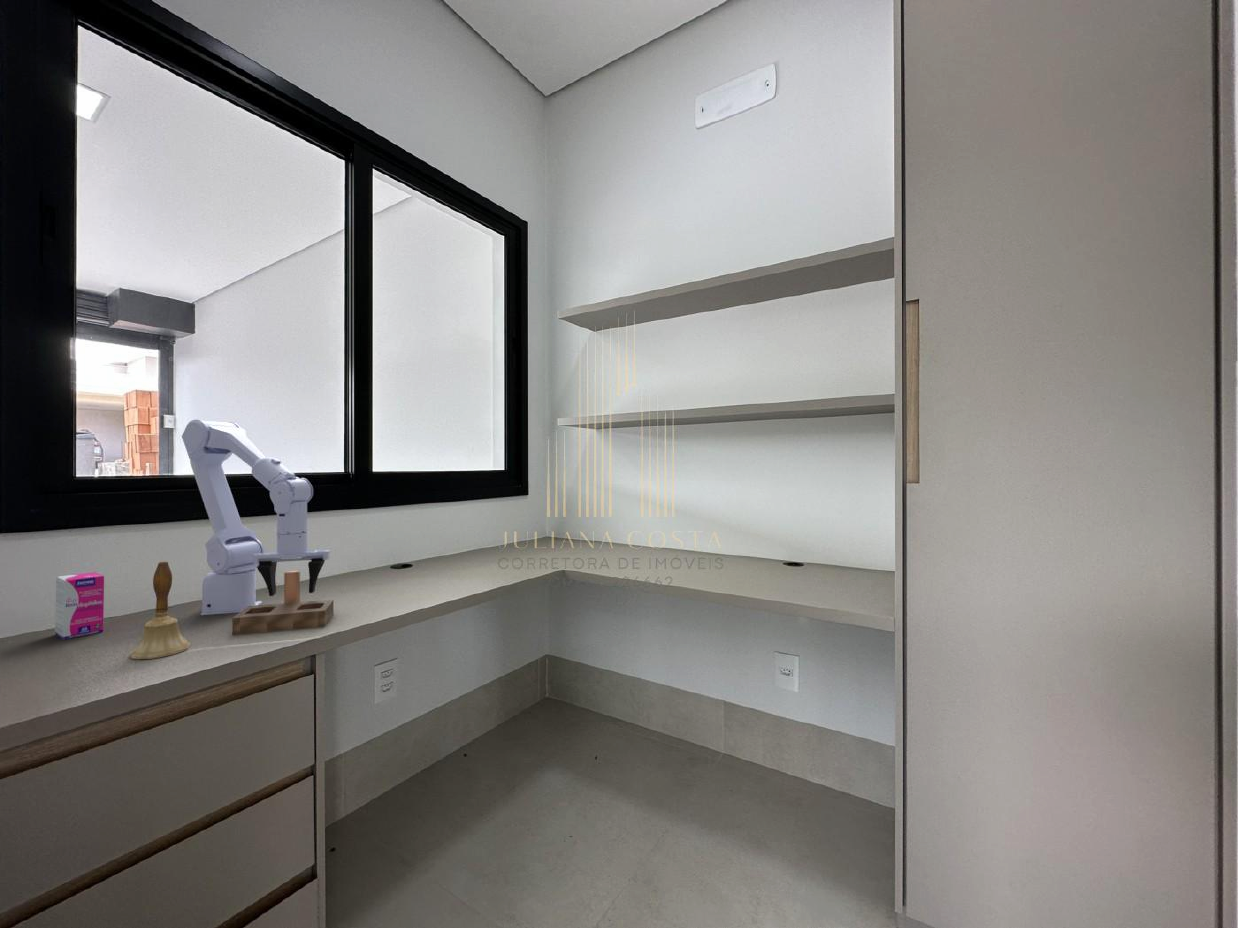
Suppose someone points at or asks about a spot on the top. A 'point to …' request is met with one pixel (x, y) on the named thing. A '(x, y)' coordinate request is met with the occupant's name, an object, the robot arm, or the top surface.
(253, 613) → the hole block
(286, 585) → the peg
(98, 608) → the supplement box
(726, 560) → the top surface
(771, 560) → the top surface
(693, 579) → the top surface
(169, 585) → the hand bell
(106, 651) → the top surface
